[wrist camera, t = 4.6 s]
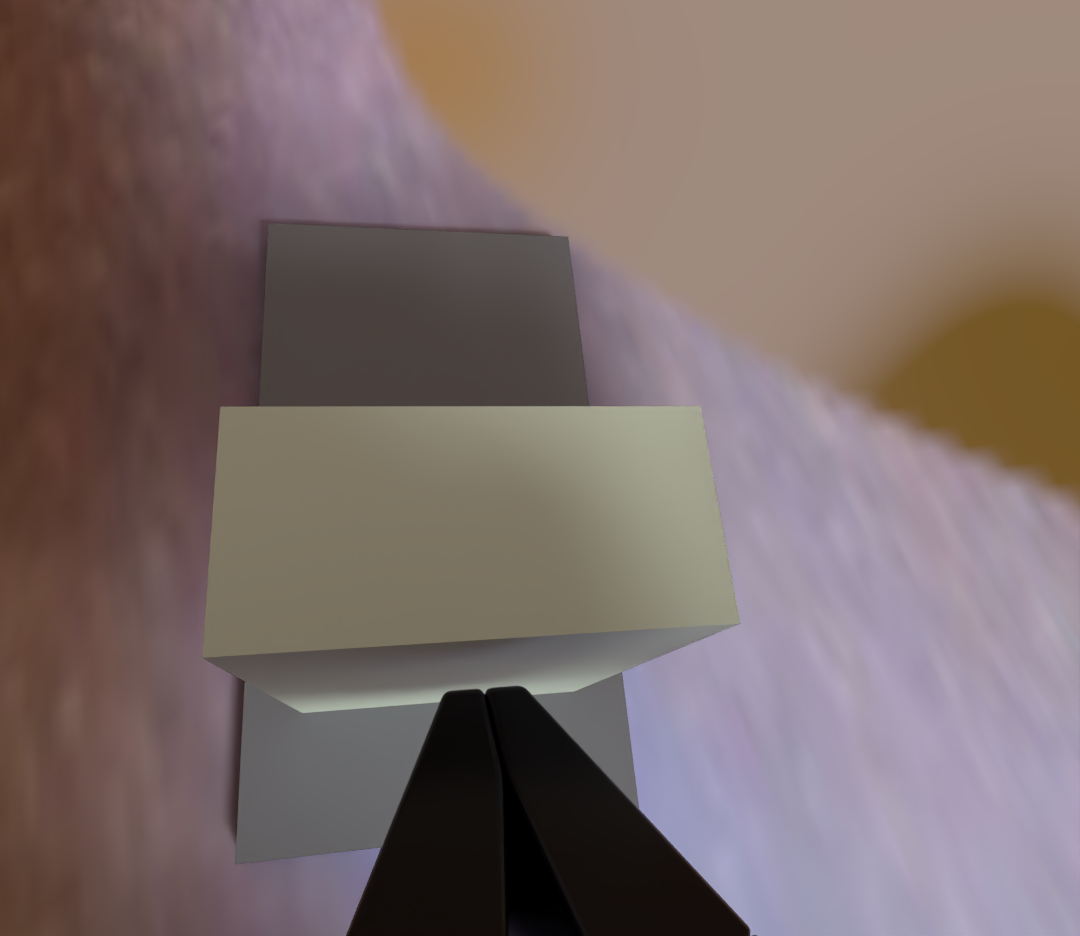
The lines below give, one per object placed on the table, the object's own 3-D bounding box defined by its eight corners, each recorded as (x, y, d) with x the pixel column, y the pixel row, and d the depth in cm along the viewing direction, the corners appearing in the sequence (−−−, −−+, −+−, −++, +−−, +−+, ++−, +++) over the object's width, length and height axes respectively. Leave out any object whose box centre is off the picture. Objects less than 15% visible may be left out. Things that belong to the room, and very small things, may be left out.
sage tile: (573, 691, 14) (740, 622, 7) (301, 713, 13) (201, 658, 6) (561, 564, 15) (698, 398, 8) (305, 575, 14) (220, 396, 7)
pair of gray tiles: (402, 65, 20) (402, 45, 20) (859, 598, 17) (875, 592, 16) (-967, 596, 11) (-1037, 587, 11) (-590, 1968, 8) (-663, 2059, 7)
